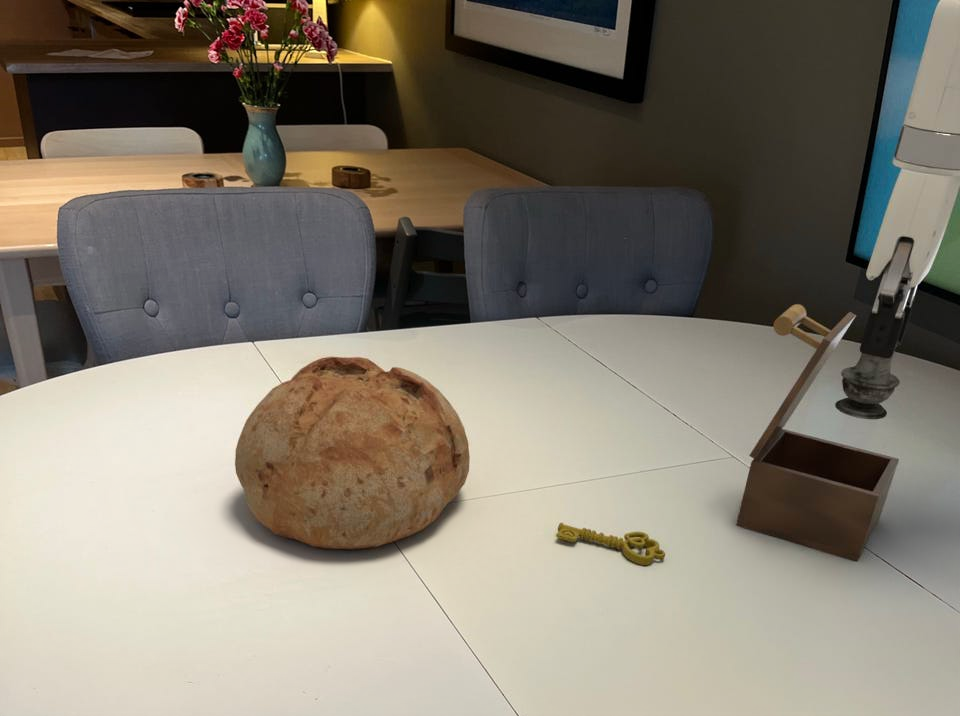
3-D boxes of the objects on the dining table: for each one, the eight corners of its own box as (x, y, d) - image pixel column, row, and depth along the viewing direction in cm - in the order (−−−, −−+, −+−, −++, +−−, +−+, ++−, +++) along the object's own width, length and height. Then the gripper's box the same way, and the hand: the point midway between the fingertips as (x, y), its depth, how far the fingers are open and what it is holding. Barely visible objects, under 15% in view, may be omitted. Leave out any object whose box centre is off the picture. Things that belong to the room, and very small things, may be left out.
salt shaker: (878, 425, 101) (916, 306, 94) (823, 409, 104) (856, 292, 97) (897, 410, 105) (934, 295, 98) (843, 394, 108) (876, 282, 101)
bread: (386, 582, 96) (388, 438, 88) (191, 522, 104) (176, 384, 95) (496, 481, 117) (506, 356, 108) (326, 436, 124) (324, 316, 115)
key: (552, 530, 105) (567, 511, 108) (550, 540, 105) (565, 521, 109) (660, 560, 101) (672, 539, 105) (658, 570, 102) (670, 549, 106)
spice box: (878, 520, 115) (899, 458, 110) (857, 561, 106) (878, 496, 102) (764, 488, 120) (780, 428, 115) (735, 525, 111) (751, 461, 107)
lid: (856, 315, 106) (806, 286, 107) (830, 342, 97) (776, 310, 98) (784, 426, 115) (738, 398, 116) (755, 459, 107) (706, 429, 108)
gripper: (913, 136, 98) (859, 322, 108) (879, 155, 85) (823, 362, 96) (993, 147, 95) (930, 337, 105) (970, 169, 83) (902, 381, 93)
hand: (880, 347), depth 101 cm, fingers closed on salt shaker, 3 cm apart
